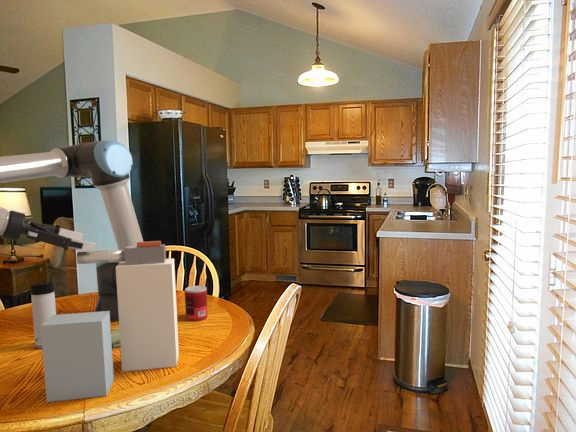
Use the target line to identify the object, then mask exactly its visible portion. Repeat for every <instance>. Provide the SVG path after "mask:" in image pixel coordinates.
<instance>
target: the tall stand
mask: <svg viewBox="0 0 576 432" xmlns="http://www.w3.org/2000/svg"><path fill="white" fill-rule="evenodd" d="M175 267H176V266H175V258H173V257H172V258H166V261H165V263H155V264H137V265H125V262H121V263H120V264H118V265H117V266H116V280H117V297H118V313H119V320H118V325H119V327H118V329H120V346H121V347H120V359H121V360H120V361H121V372H133V371H142V370H155V369H166V368H173V367H175V368H177V366H178V362H179V357H180V356H179V355H180V353H179V351H180V350H179V332H178V331H179V330H178V329H179V328H178V312H177V308H178V307H177V292H176V291H177V290H176V270H175Z"/></svg>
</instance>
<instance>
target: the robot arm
mask: <svg viewBox="0 0 576 432" xmlns="http://www.w3.org/2000/svg"><path fill="white" fill-rule="evenodd" d="M132 166H134V165H133V156H132V154H131V152H130V150H129V149H128V147H127V146H126V145H125V144H123V143H121V142H119V141H116V140H108V139H107V140H105V139H104V140H98V141H97V140H96V141H91V142H89V141H87V142H81V143H77V144H73V145H69V146H64V147H57V148H56V147H55V148H53V149H51V150H50V151H47V152H36V153H28V154H16V155H15V154H14V155H3V156H0V184H3V183H10V182H11V183H12V182H17V181H25V180H26V181H27V180H32V179H33V180H34V179H39V178H46V177H47V178H48V177H54V176H55V177H57V178H60V179H62V178H70V177H72V178H75V177H76V178H90V180H91V182H92V184H93V187H94V188H96V189H98V190H99V191H100V194H101V197H102V201H103V204H104V207H105V209H106V210H105V211H106V213H107V217H108V220H109V224H110V226H111V229H112V232H113V233H112V234H113V236H114V239H115V242H116V246H117V248H118V249H117V250H124V248H126V247H127V246H137V242H144V239H143V235H142V233H141V229H140V228H141V227H140V225H139V223H138V219H137V218H138V217H137V215H136V212H135V208H134V204H133V201H132V197H131V193H130V190H129V187H128V182H129V180H130V178H131V177H130V173H131V170H132ZM60 227H61V225H60V224H56V225H54V224H48V223H47V224H46V223H41V222H36V221H30V220H27V216H26V214H25V213H24V212H21V211H20V212H19V211H16V210H9V211H8V209H7V208H4V207H0V237H1V239H3V240H4V239H5V240H9V241H13V242H15V241H18V240H19V238H20V237H21V235H24V236H26V238H27V239H29V240H34V241H38V242H41V243H45V244H47V245H52V246H55V247H57V248H63V249H64V250H63V251H68V250H69V249H72V250H76V251H79V252H86V251H95V248H96V245H97V244H96V243H95V242H90V241H87V240H83V236H84V233H82V232H79V231H74V230H70V229H66V228H60ZM120 263H121V262H108V263H95V269H96V283H97V295H98V297H97V300H96V304H95V308H94V311H93V312H101V311H110V322H115V321H119V313H118V297H117V280H116V266H117V265H118V264H120Z"/></svg>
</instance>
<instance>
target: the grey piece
mask: <svg viewBox="0 0 576 432" xmlns="http://www.w3.org/2000/svg"><path fill="white" fill-rule="evenodd" d="M166 259H167V252H166V243H163V244H162V241H161V240H151V241H150V240H149V241H143V242H137V246H127V247H126V248H124V250H119V249H113V250H112V249H109V250H93V251H86V252H85V251H78V252H77V253H76V263H77V265H83V264H84V265H85V264H86V265H89V264H96V263H108V262H125V265H137V264H155V263H165V261H166Z"/></svg>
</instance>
